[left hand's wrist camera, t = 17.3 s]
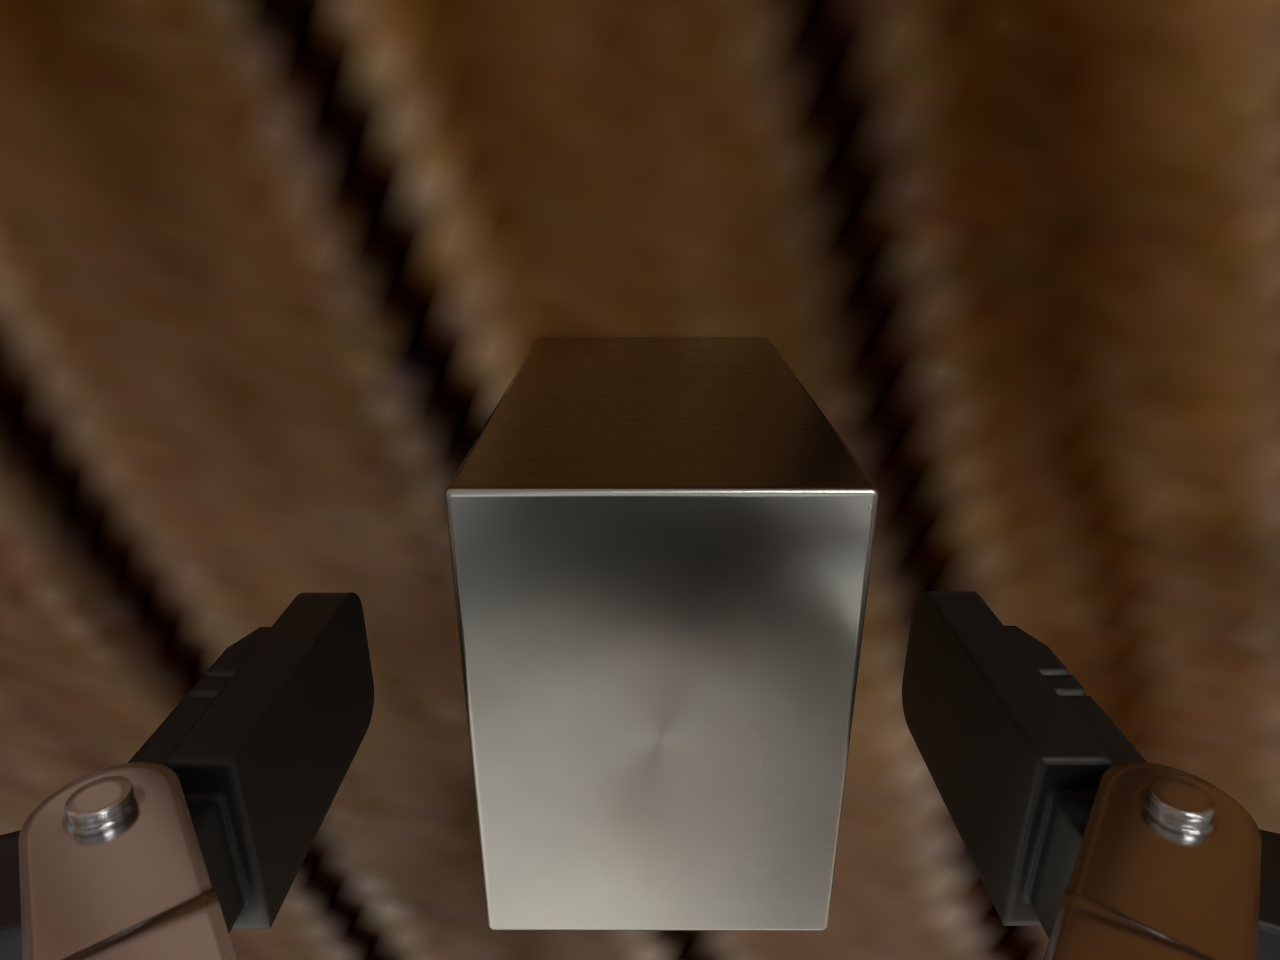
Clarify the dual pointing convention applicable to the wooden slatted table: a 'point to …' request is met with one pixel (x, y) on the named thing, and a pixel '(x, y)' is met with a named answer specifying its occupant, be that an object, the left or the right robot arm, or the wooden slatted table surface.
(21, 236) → the wooden slatted table surface
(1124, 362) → the wooden slatted table surface
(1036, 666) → the left robot arm
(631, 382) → the block
